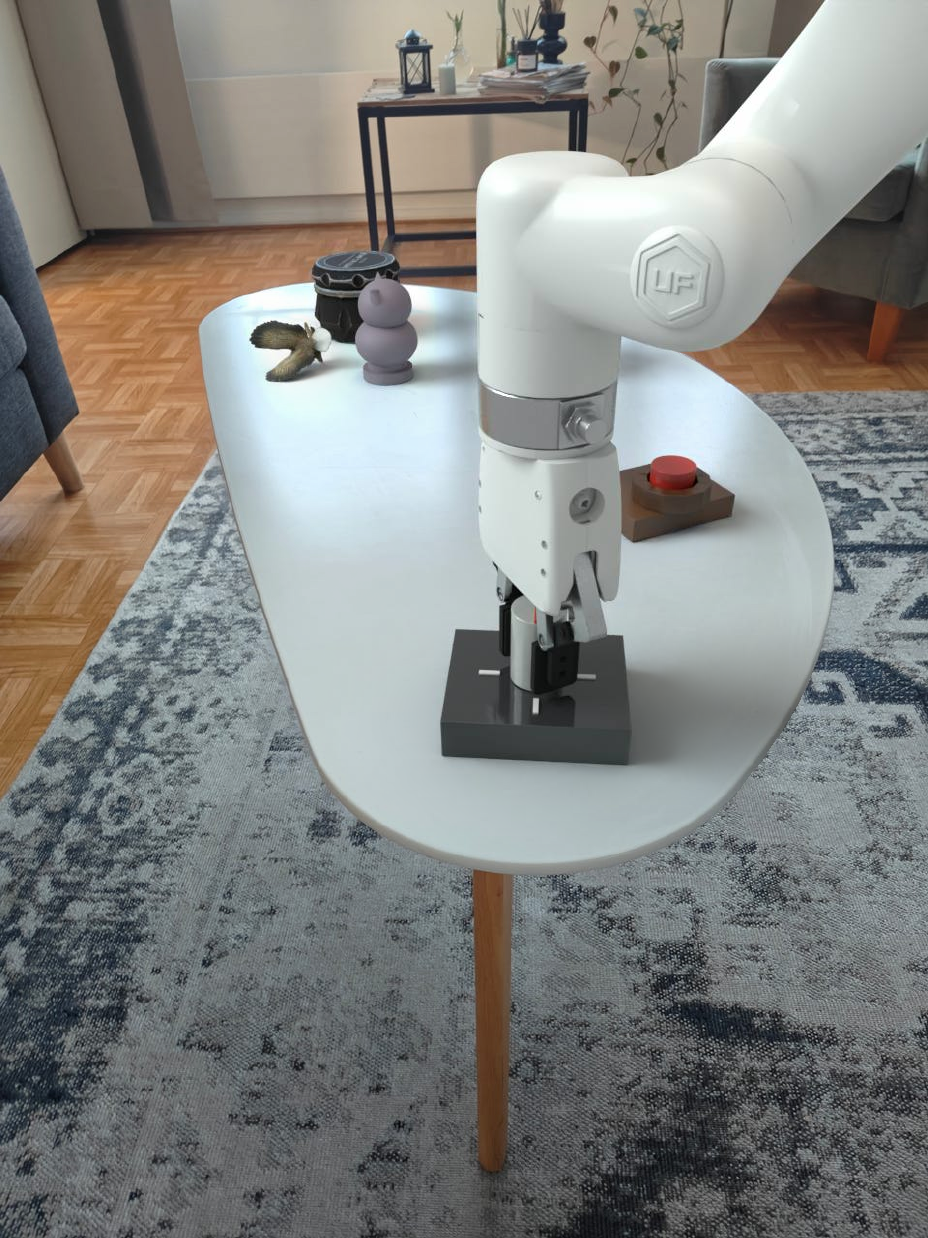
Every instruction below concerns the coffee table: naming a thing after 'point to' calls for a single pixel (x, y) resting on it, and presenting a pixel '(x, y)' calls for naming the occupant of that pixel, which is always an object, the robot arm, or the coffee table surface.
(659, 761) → the coffee table surface
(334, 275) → the container
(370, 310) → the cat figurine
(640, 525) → the power block
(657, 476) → the power button
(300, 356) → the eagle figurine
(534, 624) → the hob knob
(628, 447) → the coffee table surface
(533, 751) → the hob panel
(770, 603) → the coffee table surface
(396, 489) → the coffee table surface
